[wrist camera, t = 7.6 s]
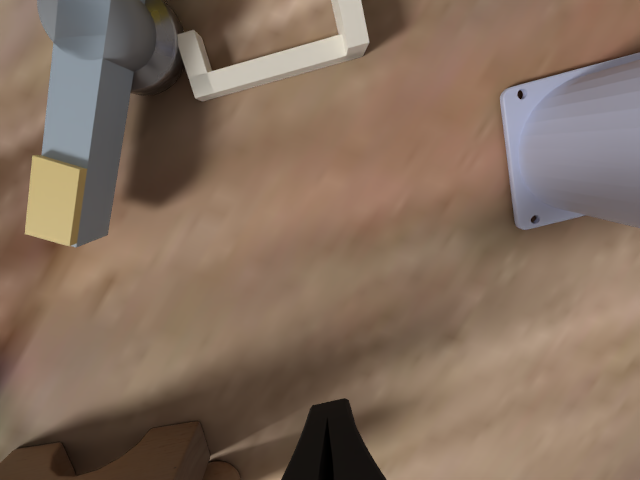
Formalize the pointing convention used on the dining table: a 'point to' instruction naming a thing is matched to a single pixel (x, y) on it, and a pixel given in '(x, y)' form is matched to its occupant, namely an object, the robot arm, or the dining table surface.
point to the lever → (85, 114)
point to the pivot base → (160, 53)
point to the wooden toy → (128, 460)
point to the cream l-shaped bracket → (275, 56)
